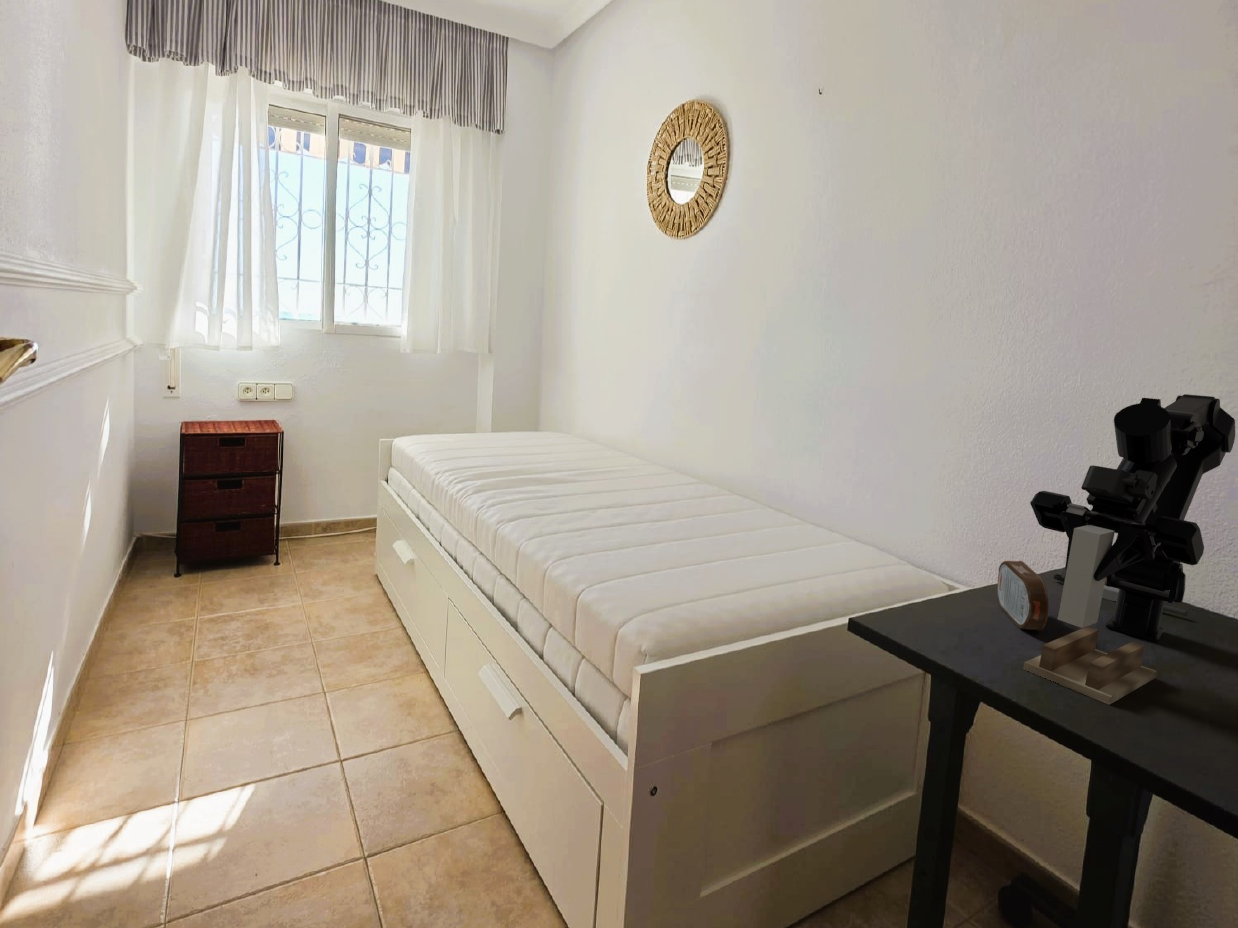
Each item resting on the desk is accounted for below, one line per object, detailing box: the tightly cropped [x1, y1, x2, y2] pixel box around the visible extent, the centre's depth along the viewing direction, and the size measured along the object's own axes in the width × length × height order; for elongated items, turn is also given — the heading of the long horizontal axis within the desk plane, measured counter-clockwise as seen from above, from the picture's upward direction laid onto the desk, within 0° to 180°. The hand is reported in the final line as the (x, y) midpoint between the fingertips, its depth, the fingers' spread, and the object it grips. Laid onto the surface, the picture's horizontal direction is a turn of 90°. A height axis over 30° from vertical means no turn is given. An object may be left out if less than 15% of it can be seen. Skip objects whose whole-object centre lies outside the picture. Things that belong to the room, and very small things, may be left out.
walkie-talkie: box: [1052, 567, 1189, 617], centre depth 122 cm, size 9×4×20 cm
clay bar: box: [1057, 525, 1116, 629], centre depth 90 cm, size 4×3×12 cm
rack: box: [1022, 625, 1157, 705], centre depth 90 cm, size 14×10×4 cm
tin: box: [996, 560, 1049, 632], centre depth 108 cm, size 15×3×8 cm, turn 168°
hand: (1081, 574), depth 89 cm, fingers closed on clay bar, 3 cm apart
